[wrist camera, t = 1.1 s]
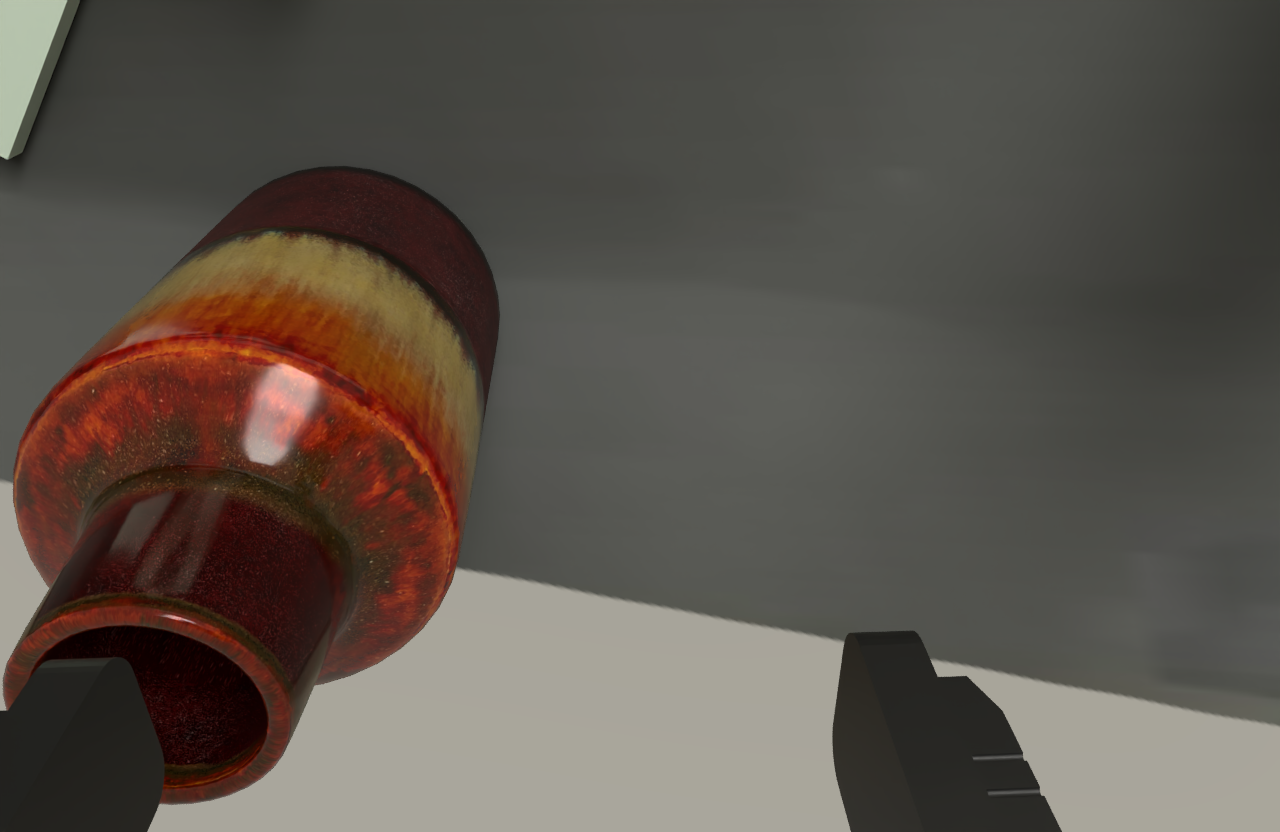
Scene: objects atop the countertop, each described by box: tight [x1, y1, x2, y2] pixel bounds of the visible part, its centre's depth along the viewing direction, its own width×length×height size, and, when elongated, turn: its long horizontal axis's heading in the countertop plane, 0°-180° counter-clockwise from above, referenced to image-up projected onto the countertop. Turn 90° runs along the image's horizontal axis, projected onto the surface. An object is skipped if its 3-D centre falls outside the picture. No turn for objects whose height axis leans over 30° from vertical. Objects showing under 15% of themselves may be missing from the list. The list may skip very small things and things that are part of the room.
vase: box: [3, 166, 500, 805], centre depth 28 cm, size 11×11×20 cm
